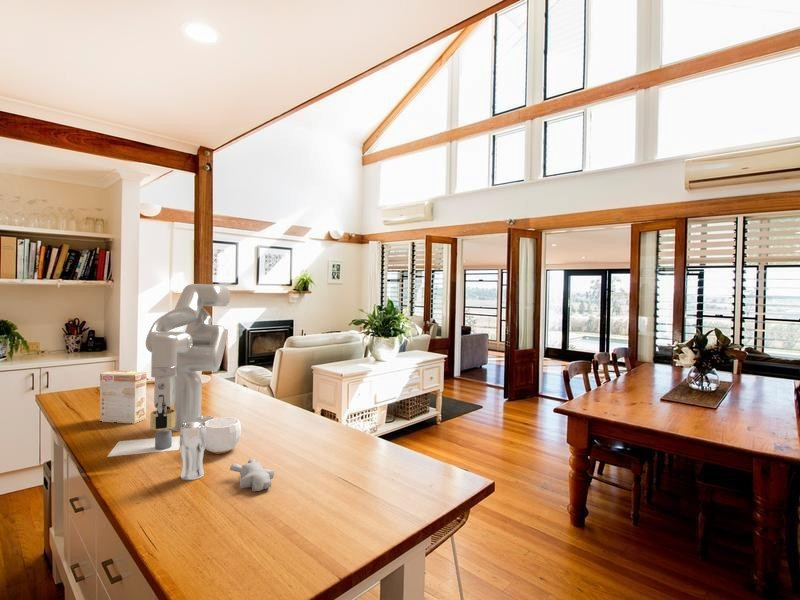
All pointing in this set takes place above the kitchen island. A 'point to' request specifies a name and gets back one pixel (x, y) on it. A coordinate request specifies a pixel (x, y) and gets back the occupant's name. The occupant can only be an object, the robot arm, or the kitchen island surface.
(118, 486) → the kitchen island surface
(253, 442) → the kitchen island surface
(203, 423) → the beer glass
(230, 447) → the cup
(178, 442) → the stand
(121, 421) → the coffeecake box
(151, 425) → the brass ring
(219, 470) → the kitchen island surface
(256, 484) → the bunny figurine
